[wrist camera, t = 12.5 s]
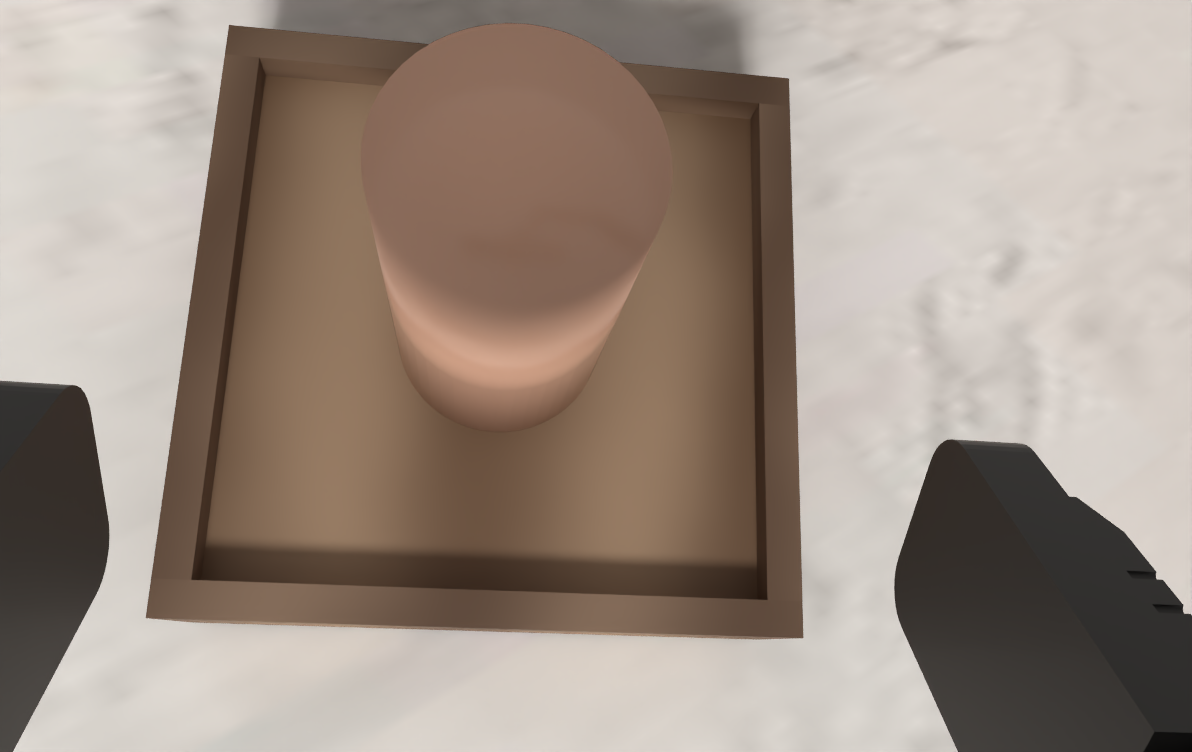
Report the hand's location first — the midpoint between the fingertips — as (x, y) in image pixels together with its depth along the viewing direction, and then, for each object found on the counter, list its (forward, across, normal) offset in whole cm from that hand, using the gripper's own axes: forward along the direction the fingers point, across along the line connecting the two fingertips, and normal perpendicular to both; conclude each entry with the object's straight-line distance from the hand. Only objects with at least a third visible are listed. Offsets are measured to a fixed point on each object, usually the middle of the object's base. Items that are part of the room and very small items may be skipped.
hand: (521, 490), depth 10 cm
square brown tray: (+16, 0, +8) cm, 17 cm away
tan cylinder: (+14, 0, +6) cm, 15 cm away
